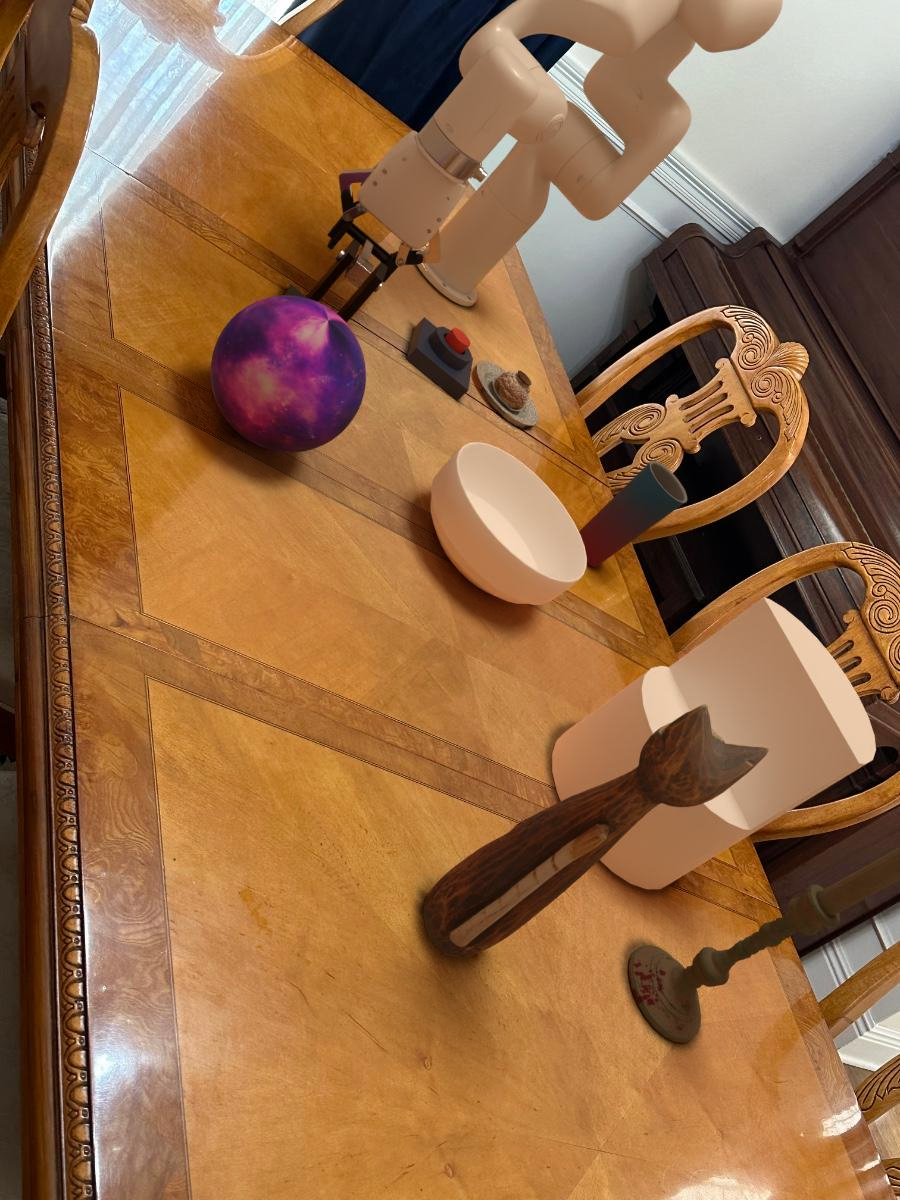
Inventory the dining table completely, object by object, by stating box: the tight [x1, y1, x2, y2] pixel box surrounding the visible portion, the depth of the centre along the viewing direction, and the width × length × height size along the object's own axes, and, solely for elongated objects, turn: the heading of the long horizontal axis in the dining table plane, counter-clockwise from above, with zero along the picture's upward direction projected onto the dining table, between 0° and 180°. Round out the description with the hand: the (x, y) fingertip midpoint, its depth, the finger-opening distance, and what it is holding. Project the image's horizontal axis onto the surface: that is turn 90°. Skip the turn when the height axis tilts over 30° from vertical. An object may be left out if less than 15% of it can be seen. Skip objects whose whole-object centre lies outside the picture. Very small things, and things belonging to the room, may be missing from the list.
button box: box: [406, 316, 474, 401], centre depth 158 cm, size 10×9×4 cm
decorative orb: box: [210, 295, 367, 453], centre depth 114 cm, size 15×15×15 cm
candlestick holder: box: [628, 846, 900, 1044], centre depth 100 cm, size 9×9×30 cm
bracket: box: [282, 238, 388, 324], centre depth 136 cm, size 10×9×12 cm
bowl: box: [430, 441, 588, 606], centre depth 131 cm, size 20×20×8 cm
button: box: [444, 327, 471, 354], centre depth 156 cm, size 3×3×2 cm
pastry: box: [476, 360, 540, 428], centre depth 166 cm, size 12×12×5 cm
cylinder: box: [551, 596, 877, 890], centre depth 115 cm, size 19×19×25 cm
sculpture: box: [423, 705, 769, 958], centre depth 86 cm, size 7×9×30 cm
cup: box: [578, 460, 688, 568], centre depth 151 cm, size 7×7×15 cm
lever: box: [343, 222, 391, 289], centre depth 138 cm, size 12×6×2 cm, turn 174°
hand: (353, 261), depth 143 cm, fingers closed on lever, 6 cm apart
